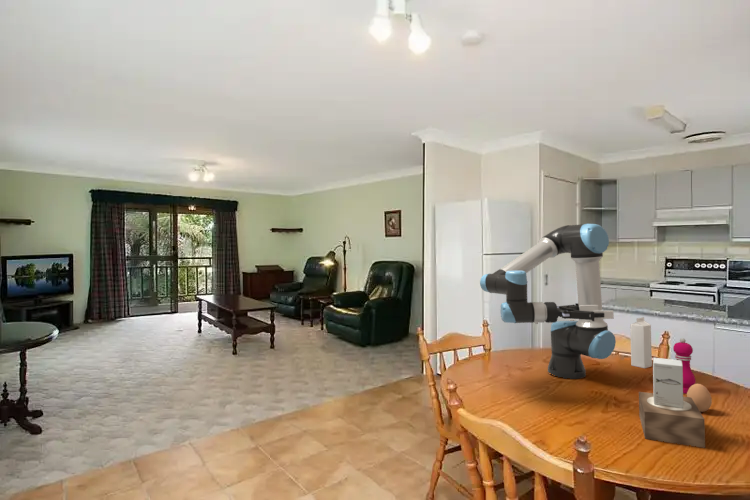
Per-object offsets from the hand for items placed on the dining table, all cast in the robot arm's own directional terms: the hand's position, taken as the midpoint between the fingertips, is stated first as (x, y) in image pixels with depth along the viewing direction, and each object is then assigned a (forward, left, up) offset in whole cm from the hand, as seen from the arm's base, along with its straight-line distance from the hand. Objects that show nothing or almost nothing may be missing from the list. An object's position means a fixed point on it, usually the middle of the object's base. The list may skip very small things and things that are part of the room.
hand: (605, 311), depth 155 cm
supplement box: (+16, -22, -24) cm, 36 cm away
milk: (+15, +52, -32) cm, 63 cm away
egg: (+27, -1, -32) cm, 42 cm away
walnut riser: (+16, -22, -32) cm, 42 cm away
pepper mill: (+26, +20, -32) cm, 46 cm away
